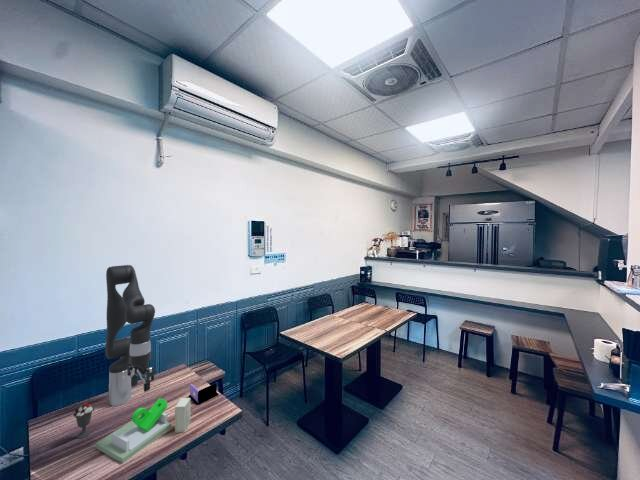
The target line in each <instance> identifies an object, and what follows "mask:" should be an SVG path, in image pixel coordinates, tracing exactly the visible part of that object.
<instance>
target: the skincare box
mask: <svg viewBox="0 0 640 480" xmlns="http://www.w3.org/2000/svg"><path fill="white" fill-rule="evenodd" d="M191 401H192V400H191V398H189V397H180V398H179V400H178V402H177V404H176V405H175V406H174V433H185V432H186V431H187V429H188V427H189V426H190V424H191Z"/></svg>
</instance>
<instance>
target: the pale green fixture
mask: <svg viewBox="0 0 640 480" xmlns="http://www.w3.org/2000/svg"><path fill="white" fill-rule="evenodd" d="M141 415H142V414H140V415H139V417H138V418H140V417H141ZM171 428H172V422H169V421H168V413H165V412H163V413H162V415H161V416H160V417H159V419H158V420H157V421H156V422H155V424H154V425H153V426H152V428H151V429H150V430H149V431H146V430H143V429H141V428H139V427H138V426H137V425H136V424H135V423H134V422H133V421H132V420H131V421H129V422H128V423H126V424H124V425H122V426H121V427H120V428H118V429H116V430H114V431H113V432H111V433H110V434H108V435H107V436H105V437H103V438H102V439H100V440H99V441H97V442H95V449H97V450H99V451H100V452H102V453H104V454H105V455H107V456H108V457H111V458H112V459H114V460H116V461H118V462H120V463H121V464H124V463H125V462H126V461H128V460H129V459H131V458H132V457H133V456H135V455H136V454H137V453H139V452H140V451H142V450H143V449H144V448H146V447H147V446H148V445H151V444H152V442H153V441H155V440H156V439H158V438H160V437H161V436H162V435H163V434H165V433H166V432H167V431H169V430H170V429H171Z"/></svg>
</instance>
